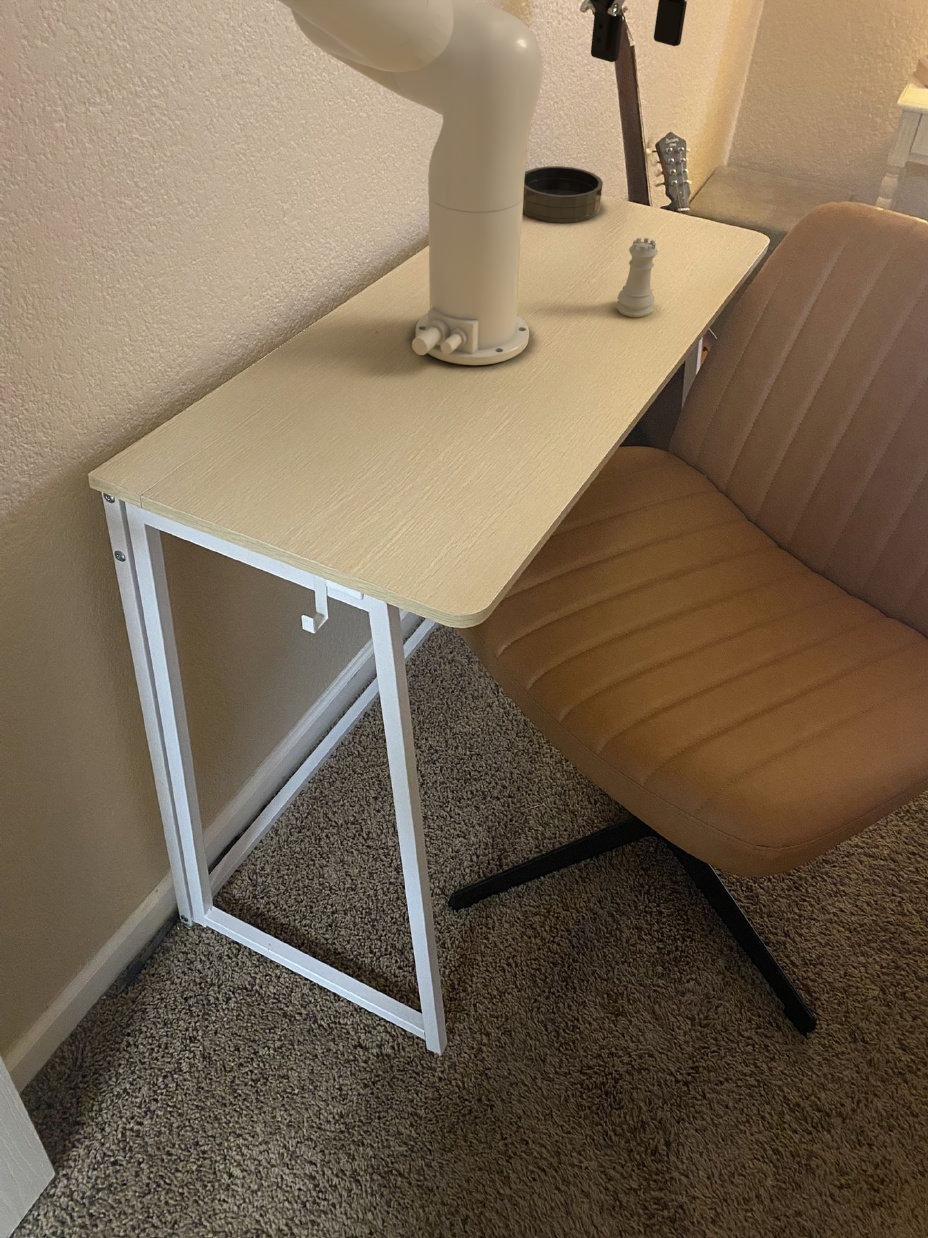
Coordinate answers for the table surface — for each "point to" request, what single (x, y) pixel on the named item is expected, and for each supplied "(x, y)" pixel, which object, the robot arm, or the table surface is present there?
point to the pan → (561, 194)
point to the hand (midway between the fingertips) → (636, 50)
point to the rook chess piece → (638, 281)
